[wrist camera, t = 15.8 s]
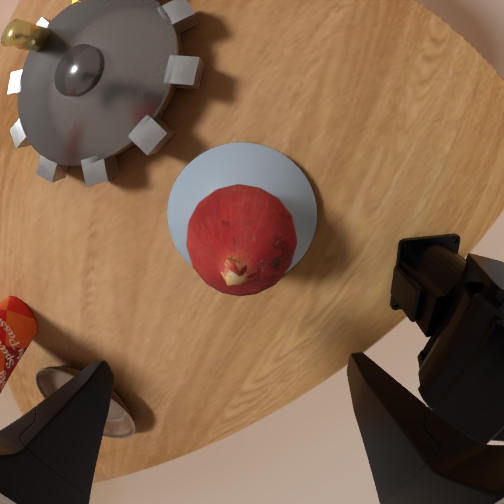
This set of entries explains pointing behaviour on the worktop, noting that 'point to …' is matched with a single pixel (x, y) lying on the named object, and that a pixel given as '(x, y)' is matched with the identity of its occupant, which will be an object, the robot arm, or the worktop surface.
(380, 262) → the worktop surface
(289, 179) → the coaster
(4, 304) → the paper cup
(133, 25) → the sprocket
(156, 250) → the worktop surface
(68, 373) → the saucer
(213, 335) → the worktop surface
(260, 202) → the onion
